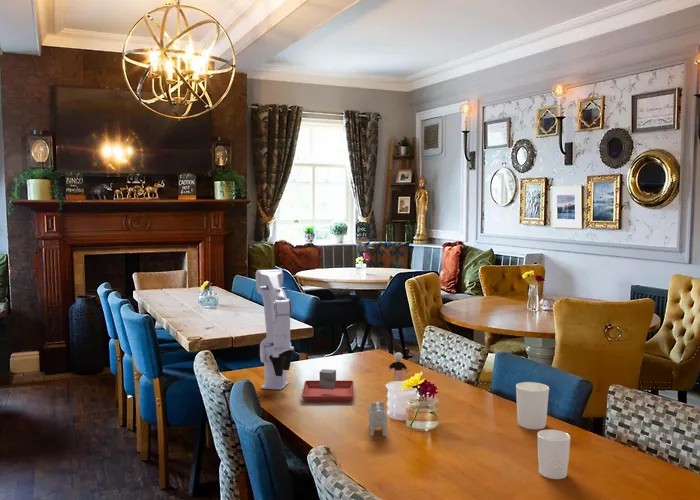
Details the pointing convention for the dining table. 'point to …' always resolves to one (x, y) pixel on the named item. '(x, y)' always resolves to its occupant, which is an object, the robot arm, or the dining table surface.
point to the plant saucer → (328, 392)
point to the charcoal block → (327, 379)
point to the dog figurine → (377, 417)
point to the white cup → (553, 453)
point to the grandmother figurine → (398, 367)
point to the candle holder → (532, 404)
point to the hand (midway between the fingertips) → (282, 372)
